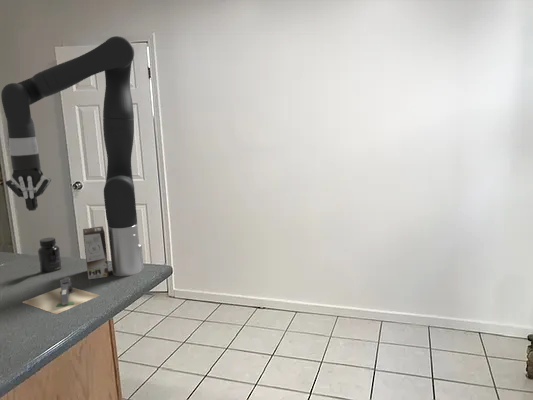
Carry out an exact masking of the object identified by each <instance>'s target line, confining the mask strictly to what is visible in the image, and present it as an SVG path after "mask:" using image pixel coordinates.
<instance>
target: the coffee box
mask: <svg viewBox="0 0 533 400" xmlns="http://www.w3.org/2000/svg"><path fill="white" fill-rule="evenodd" d="M82 234H83V244H84V253H85V262H86V271H87V277H88V278H87V279H88V280H92V279H93V280H95V279H100V278H106V277H109V275H110V274H109V265H108V263H109V262H108V253H107V244H106V233H105V230H104V226H94V227H89V228H88V227H87V228H83V229H82Z"/></svg>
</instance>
